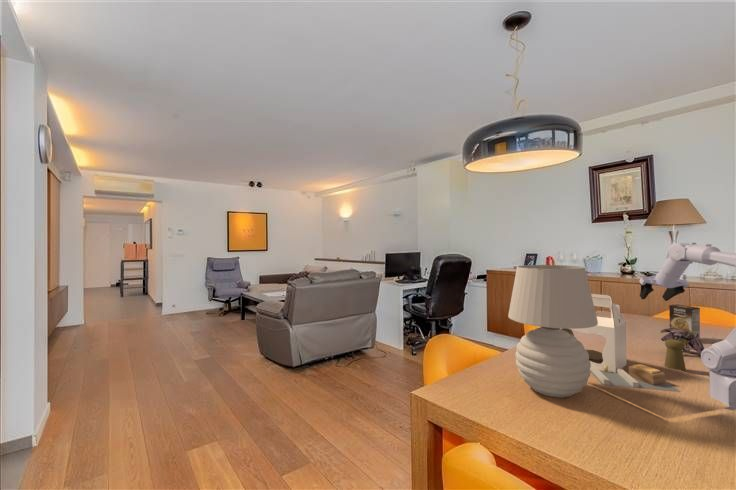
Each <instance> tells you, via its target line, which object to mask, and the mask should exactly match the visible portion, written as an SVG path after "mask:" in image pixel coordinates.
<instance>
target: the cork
mask: <svg viewBox="0 0 736 490" xmlns="http://www.w3.org/2000/svg"><path fill="white" fill-rule="evenodd" d="M664 345H665V347H666V352H665V353H666V354H665V359H664V360H665V361H664V367H665V368H668V369H672V370H676V371H681V372H685V373H686V372H687V368H686V363H685V359H684V351H683V349H684V344H683V342H681V341H679V340H674V339H668V340H666V341H664Z"/></svg>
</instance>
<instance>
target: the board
mask: <svg viewBox="0 0 736 490" xmlns="http://www.w3.org/2000/svg"><path fill="white" fill-rule="evenodd" d="M590 370H591V371H590V375H591V374H592V376H593V377H594V378H595V379H596V380H597V381H598V382H599V383H600V384H601V386H609V387H610V386H611V387H620V388H621V387H622V388H630V389H631V388H632V389H642V390H643V389H645V390H652V391H653V390H655V391H666V392H676V393H681V392H682V391H681V390H679V389H678V388H676V387H675V386H674V385H672V384H671V383H669V382H668V381H667V380H665V384H661V385H654V386H653V385H651V384H648V383H645V382H643V381H640V380H638V379H635V378H632V377H631V376H630V375H629V371H628V372H627V371H625V370H624V369H623V368H622V369H621V368H617V373H614V372H610V371H608V366H606V365H604V370H601V369H597V368H596V367H595V366H591V367H590Z"/></svg>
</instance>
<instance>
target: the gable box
mask: <svg viewBox="0 0 736 490" xmlns="http://www.w3.org/2000/svg"><path fill="white" fill-rule="evenodd" d="M591 295H592V300H593V304H594V307H600V308H601V307H602V308H609V310H610V316H609V317H607V316H600V315H599V316H598V315H596V316H597V321H598V324H597V325H596V326H594V327H589V328H579V329H563V328H560V329H561V330H564V331H566V332H568V333H569V334H572V335H573V336H575V335H574V331H576V332H579V333H582V334H587V335H598V336H601V337H603V338H604V339H605V340H606V343H605V345H604V346H603V349H602V352H600V351H598V350H594V349H586V350H587V352H588V353H589V361H590V363H591V366H595V367H596V368H597V369H598V370H604V365H606V366H608V371H610V372H614V373H617V368H621V369H623V368H625V367H626V365H627V364H628V363H627V361H628V360H627V357H628V356H627V322H626V320H625V318H624V317H623V315H622V311H621V304H616V303H614V302H613V299H612V296H611V295H609V294H599V293H591ZM592 360H594V361H598V360H602V362H601V363H598V362H594V361H592Z"/></svg>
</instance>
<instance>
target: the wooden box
mask: <svg viewBox="0 0 736 490" xmlns="http://www.w3.org/2000/svg"><path fill="white" fill-rule="evenodd" d="M628 372H629V375H630V376H631V377H632V378H635V379H638V380H640V381H643V382H645V383H648V384H651V385H653V386H654V385H661V384H665V381H666V373H665V372H663V371H661V370H659V369H657V368H654V367H650V366H648V365H645V364H641V363H640V364H638V363H637V364H633V365H630V366H629V365H628Z"/></svg>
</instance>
